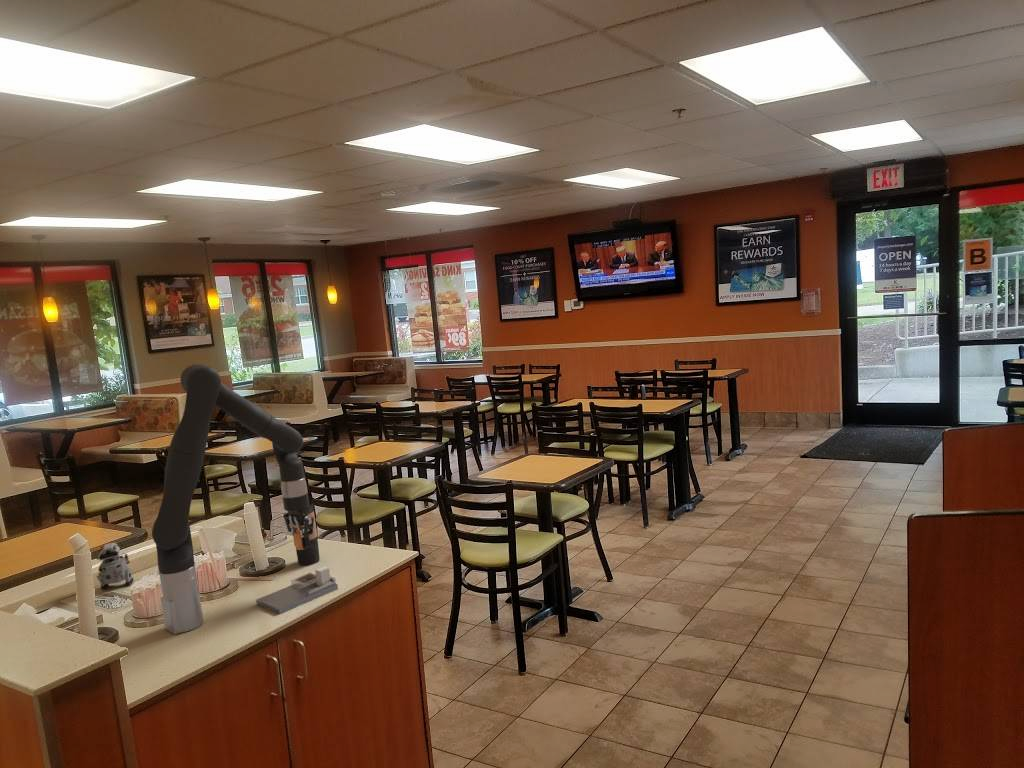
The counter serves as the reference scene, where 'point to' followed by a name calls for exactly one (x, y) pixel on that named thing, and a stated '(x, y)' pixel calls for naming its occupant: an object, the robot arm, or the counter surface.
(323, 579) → the block
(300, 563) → the travel mug
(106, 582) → the figurine
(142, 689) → the counter surface
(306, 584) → the panel
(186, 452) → the robot arm
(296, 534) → the cap
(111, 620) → the counter surface
